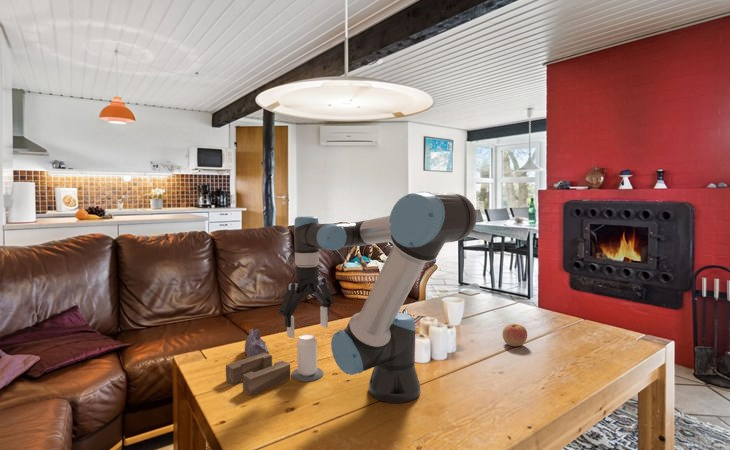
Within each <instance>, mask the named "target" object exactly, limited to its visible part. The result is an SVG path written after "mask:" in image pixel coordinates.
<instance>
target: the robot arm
mask: <svg viewBox="0 0 730 450" xmlns="http://www.w3.org/2000/svg"><path fill="white" fill-rule="evenodd" d="M477 219H478V218H477V211H476V208H475V205H474V204H473V202H472V201H470V199H469V198H467V197H466V196H464V195H462V194H460V193H456V192H429V191H418V192H412V193H408V194H406V195H403V196H402V197H401V198H399V199H398V200H397V201H396V203H395V204H394V205H393V207H392V209H391V212H390V215H386V216H381V217H376V218H372V219H367V220H362V221H355V222H354V221H353V222H337V223H336V222H335V223H320V221H319V218H318V217H317V216H297V217H295V218H294V228H293V232H294V233H293V234H294V237H293V238H294V264H295V267H294V277H295V280H296V281H295V283H292V282H288V283H287V285H286V286H287V287H286V288H287V289H286V293H285V295H284V297H283V300H282V303H281V306H280V309H279V312H278V315H280V316H283V317H284V326H285V328H286V336H287V337H289V338H291V339H294V338H295V316H294V315H293V314H294V313H295V310H296V308H298V306H299V304H300V302H301V300H302V299H303V298H305V297H306V296H309V295H314V297H315V298H316V299H317V300H318V301H319V303H320V304H321V306H320V309H319V310H320V311H319V313H320V314H319V315H320V317H319V319H320V327H322V328H329V327H328V326H329V321H328V320H329V319H328V318H329V315H330V310H329V309H330V308H331V307H332V305H333V304H334V299H333V297H332V294H331V292H330V290H329V287H328V285H327V278H326V277H320V266H319V264H320V256H319V255H320V254H319V253H320V251H319V249H320V250H326V251H338V250H341V249H344V248H350V247H361V246H362V247H363V246H369V245H375V244H383V243H390V242H391V244H392V247H391V249H390V250H389V253H388V255H387V258H386V259H385V261H384V264H383V265H382V268H381V269H380V271H379V273H378V275H377V277H376V279H375V281H374V283H373V286H372V288H371V289H370V292H369V294H368V296H367V298H366V299H365V302H364V304H363V306H362V308H361V310H360V312H357V313H354V314H353V315H352V316H351V317H350V320H349V321H348V323H347V325H346V327H345V328H344V329H339V330H338V331H336V332H334V333H333V335H332V336H331V339H330V340H331V341H330V348H331V353H332V356H333V359H334V362H335V363H336V365H337V367H338V368H339V369H340V370H341V371H342V373H344V374H346V375H350V376H351V375H352V376H353V375H357V374H361V373H364V372H366V371H367V370H371V369H373V370H372V373H371V375H370V378H369V382H368V392H369V394H370V395H371V396H372V397H373V398H375V399H376V400H379V401H381V402H386V403H392V404H401V403H402V404H403V403H408V402H411V401H414V400H415V399H417V398H418V397H419V396H420V395H421V382H420V380H419V377H418V372H417V370H416V365H415V364H416V363H415V361H416V331H417V330H416V321H415V318H414V317H413V316H412V315H409V314H406V313H404V312H400V310H401V308H402V306H403V305H404V303H405V302H406V299H407V298H408V295H409V294H410V292H411V290H412V288H413V287H414V285H415V283H416V281H417V279H418V277H419V276H420V275H421V272H422V270H423V268H424V266H425V264H427V263H430V262H434V261H435V260H436V259H437V257H438V256H439V253H440V252H441V250H442V248H443V247H444V245H445V244H446V243H453V242H458V241H462V240H464V239H466V238H467V237H468V236H469V235H470V234H471V233H472V232H473V231H474V229H475V228H476V227H475V226H476V224H477ZM318 286H319V287H318ZM319 288H320V289H319Z"/></svg>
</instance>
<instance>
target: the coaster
mask: <svg viewBox="0 0 730 450" xmlns="http://www.w3.org/2000/svg"><path fill="white" fill-rule="evenodd" d="M323 375H324V371H323V370H322V369H321V368H319V367H317V371H316V373H314V374H313V375H311V376H302V375H301V374H299V373H298V368H296V369H294V370H293V371H292V372H291V378H292V379H293V380H295V381H298V382H303V383H307V382H315V381H317V380H319V379H321V378H323Z"/></svg>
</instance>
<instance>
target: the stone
mask: <svg viewBox="0 0 730 450" xmlns="http://www.w3.org/2000/svg"><path fill="white" fill-rule="evenodd" d="M244 352H245V354H246V356H247V357H246V358H249V357H252V356H255V355H258V354H261V353H264V352H265V353H267V354H270V351H269V349H268V346H267V344H266V341H264V340H263V339H262V338H261V334H260V329H259V328H250V329H249V334H248V336H247V337H246V338H245V343H244Z"/></svg>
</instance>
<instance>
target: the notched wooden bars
mask: <svg viewBox="0 0 730 450" xmlns="http://www.w3.org/2000/svg"><path fill="white" fill-rule="evenodd" d="M225 381H226V382H228V383H229V384H231V385H232V386H234V385H237V384H240V383H242V392H243V393H246V395H249V396H250V397H252V396H254V395H257V394H260V393H261V392H264V391H267V390H269V389H271V388H274V387H277V386H278V385H281V384H284V383H286V382H289V381H291V364H290V363H288V362H287V361H284V360H280V361H277V362H274V364H273V355H271V354H270V353H269V354H267V353H265V352H264V353H261V354H258V355H255V356H252V357H249V358H248V357H246V358H244V359H240V360H237V361H234V362H231V363H228V364H226V365H225Z"/></svg>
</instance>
